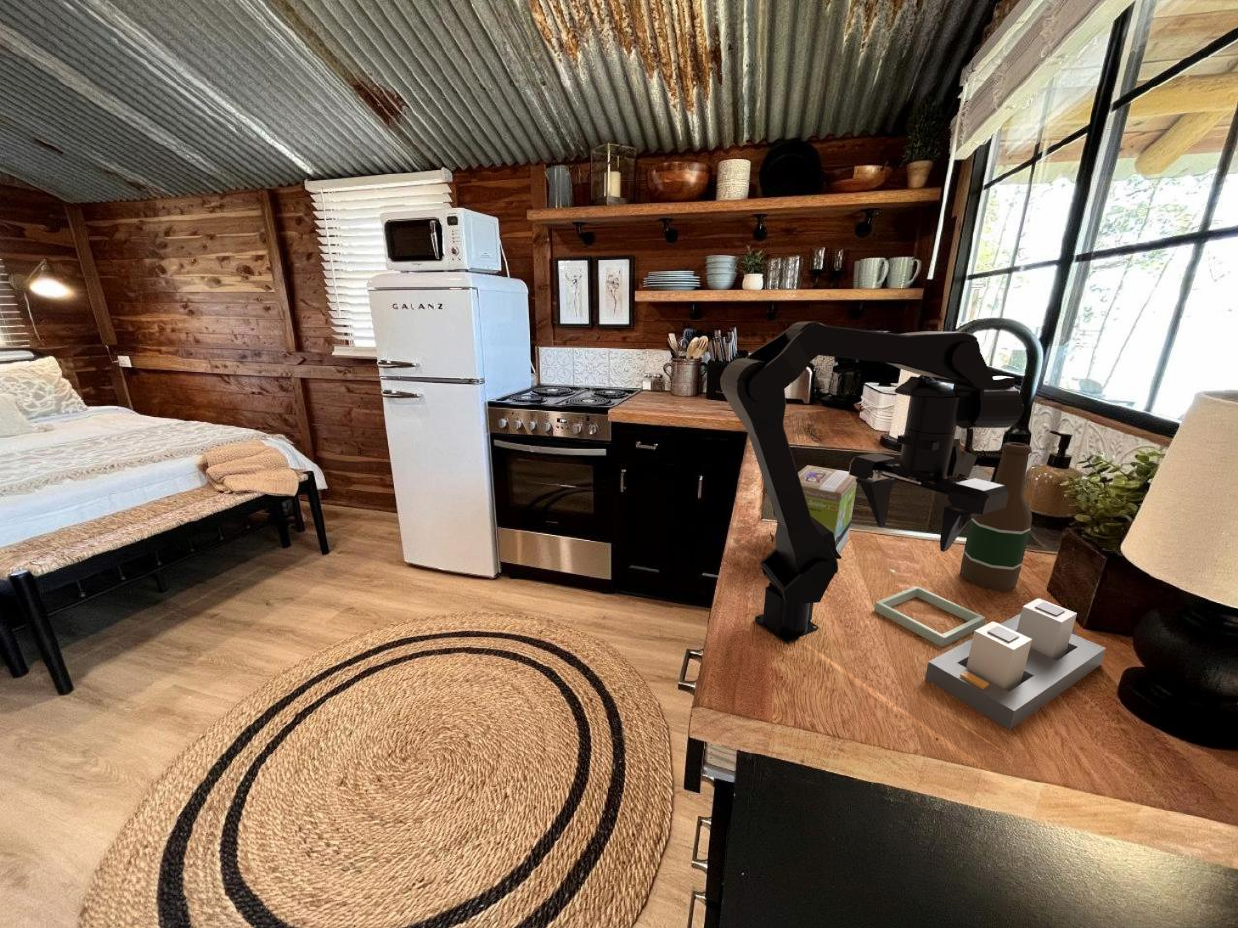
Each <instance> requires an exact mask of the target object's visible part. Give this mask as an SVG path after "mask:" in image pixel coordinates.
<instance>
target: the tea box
mask: <svg viewBox="0 0 1238 928" xmlns="http://www.w3.org/2000/svg"><path fill="white" fill-rule="evenodd" d="M797 472H798V475H799V478H800V482H801V485H802V488H803V492H804V495H805V498H806V501H807V505H808V508H809V511H810V514H811V516H812V517H814V518H815V519H816V520H818V521H819V522H820V523H821V524H823V525H824V526H825V527H827V528H828V529H829V530H830V531H832V532H833V534H834V537H835V545H836V550H837V552H838V554H839V555H841V553H842V551H843V549H844V548H845V547H846V544H847V542H848V541H849V537H850V531H851V524H852V518H853V510H854V504H855V497H856V491H857V485H858V483H857V482H856V478H858V477H855V476H852V475H849V471H846V470H841V469H840V470H839V469H833V468H828V467H821V466H817V465H815V466H814V465H809V464H808V465H806V466H804V467H803V468H802V469H801V470H799V471H797Z"/></svg>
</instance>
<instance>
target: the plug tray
mask: <svg viewBox="0 0 1238 928" xmlns="http://www.w3.org/2000/svg"><path fill="white" fill-rule="evenodd" d="M914 598H919V599H921V600H923V601H924V602H926V603H929V604H930V605H934V606H936V607H937V608H939V609H941V610H944V611H945V612H948V613H950V614H952V615H954V616H957V617H959V618H961V619H963V620H965V621H967V622H965V623H963V624H961V625H959V626H957V627H955V628H952V629H950V630H949V631H946V632H944V633H941V632H938V631H936V630H935V629H933V628H931V627H929V626H928V625H925V624H923V623H921V622H919V621H917V620H915V619H914V618H912V617H910V616H908V615H905V614H904V613H902V612H901V611H898V610H896V609H894V608H893V607H895V606H898V605H900V604H902V603H904V602H907V601H909V600H911V599H914ZM873 610H874V612H876V613H879V614H880V615H882V616H884V617H885V618H887V619H889V620H890V621H893V622H894V623H896V624H898V625H900V626H902V627H903V628H905V629H908V630H909V631H911V632H913V633H915V634H916V635H918V636H920V637H923V638H924V639H926V640H928V641H930V642H931V643H933V644H935V645H938V646H939V647H941V648H944V647H946V646H948V645H950V644H952V643H954V642H956V641H958V640H960V639H962V638H963V637H966V636H968V635H970V634H971V633H974V631H975V630H977V629H979V628H981V627H983V626H985V623H986V618H987V617H985V616H984V615H981V614H979V613H977V612H975V611H972V610H971V609H969V608H966V607H964V606H962V605H959V604H957V603H954V602H953V601H950V600H948V599H946V598H944V597H942V596H939V595H937V594H936V593H934V592H931V591H929V590H927V589H926V588H925V589H924V588H922V587H920V586H918V585H915V586H913V587H911V588H907V589H906V590H902V591H900V592H897V593H895V594H892V595H890V596H887V597H885V598H883V599H880V600H878V601H875V604H874V609H873Z"/></svg>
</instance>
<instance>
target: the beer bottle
mask: <svg viewBox="0 0 1238 928" xmlns="http://www.w3.org/2000/svg"><path fill="white" fill-rule="evenodd" d="M1000 449H1001V451H1002V453H1001V457H1000V461H999V463H998V467H997V471H996V474H995V476H994V477H995V478H994V480H993V483H997V484H1001V485H1004V486H1005V488H1006V490H1007V492H1008V494H1009V497H1008V501H1007V506H1006V508H1002V509H999V510H996V511H992V512H989V513H986V514H980V515H976V516H974V517H973V518H972V519H971V520H970V521H969V525H968V530H967V535H966V538H965V539H966V540H965V543H964V544H965V545H964V548H963V554H962V559H961V563H960V570H959V574H960V575H961V577H963V579H964V580H965V581H966V582H968V583H969V584H972V585H974V586H977V587H980V588H983V589H985V590H991V591H998V592H1000V591H1001V592H1009V591H1010V590H1012V589H1014V588H1016V587H1017V583H1018V581H1019V578H1020V577H1019V576H1020V572H1021V569H1022V565H1023V561H1024V557H1025V553H1026V549H1027V546H1028V544H1027V543H1028V541H1029V536H1030V532H1031V527H1032V520H1033V515H1032V509H1031V506H1030V505H1029V503H1028V500H1027V499H1026V498H1025V482H1026V481H1025V480H1026V475H1027V469H1028V460H1029V457H1030V454H1031V453H1033V448H1032V446H1030V445H1028V444H1026V443H1023V442H1015V441H1014V442H1013V441H1009V442H1005V443H1003V445H1002V446H1001V448H1000Z"/></svg>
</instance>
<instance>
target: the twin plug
mask: <svg viewBox="0 0 1238 928" xmlns="http://www.w3.org/2000/svg"><path fill="white" fill-rule="evenodd" d="M1020 613H1021V616H1020V620H1019V624H1018V628H1017V632H1018V633H1020V634H1022V635H1024V636H1026V637H1028V638H1031V639H1032V642H1031V646H1030V648H1031V649H1034V650H1036V651H1038V652H1040V653H1042V654H1044V655H1046V656H1048V657H1050V658H1053V659H1055V660H1059V659H1060V658H1062V657H1063V656H1065V654H1066V650H1067V647H1068V643H1069V640H1070V636H1071V633H1072V629H1073V628H1074V626H1075V623H1076V618H1077V615H1078V613H1077V612H1075V611H1072V610H1069V609H1067V608H1065V607H1062V606H1059V605H1058V604H1054V603H1052V602H1049V601H1047V600H1044V599H1043V598H1039V597H1038V598H1036V599H1033V600H1032V601H1030V602H1028V603H1026V604H1025V605H1022V609H1021V612H1020ZM1073 630H1074V629H1073Z"/></svg>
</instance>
